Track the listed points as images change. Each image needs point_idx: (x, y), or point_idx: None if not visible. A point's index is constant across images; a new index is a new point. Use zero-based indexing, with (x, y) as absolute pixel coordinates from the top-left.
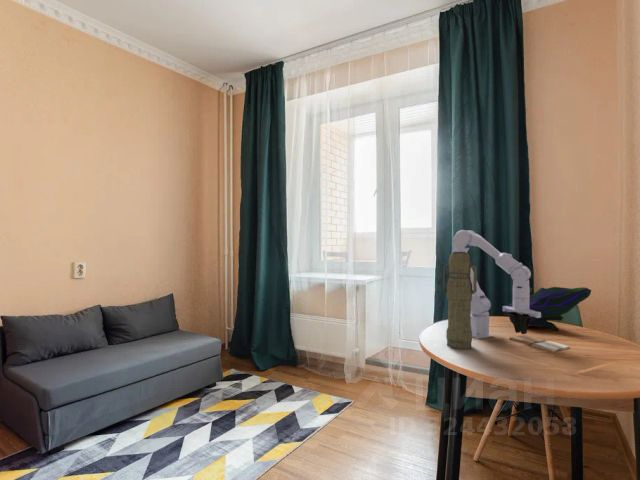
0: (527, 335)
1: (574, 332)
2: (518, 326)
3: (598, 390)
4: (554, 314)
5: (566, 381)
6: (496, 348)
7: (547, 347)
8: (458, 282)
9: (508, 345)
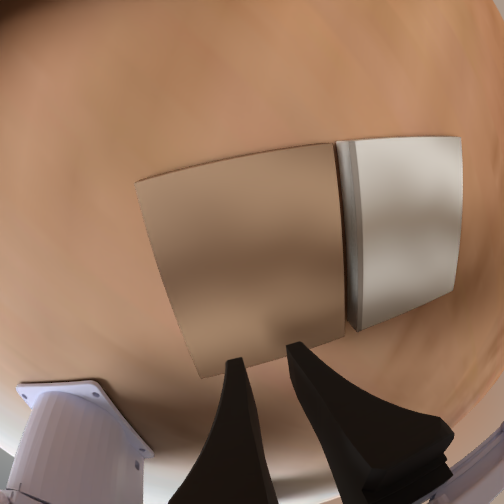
0: (162, 191)
1: None
2: (253, 416)
3: None
4: None
5: (486, 379)
6: (291, 445)
7: (430, 288)
8: None
9: (273, 402)
